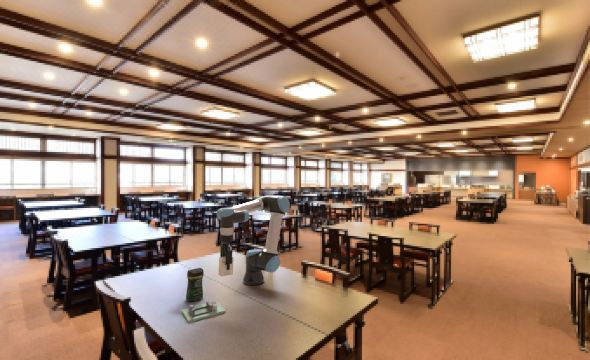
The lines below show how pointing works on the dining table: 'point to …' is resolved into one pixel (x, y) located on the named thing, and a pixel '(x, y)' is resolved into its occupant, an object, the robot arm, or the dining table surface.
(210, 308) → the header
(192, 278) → the coffee jar
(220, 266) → the plug
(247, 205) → the robot arm
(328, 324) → the dining table surface
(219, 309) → the board
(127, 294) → the dining table surface
